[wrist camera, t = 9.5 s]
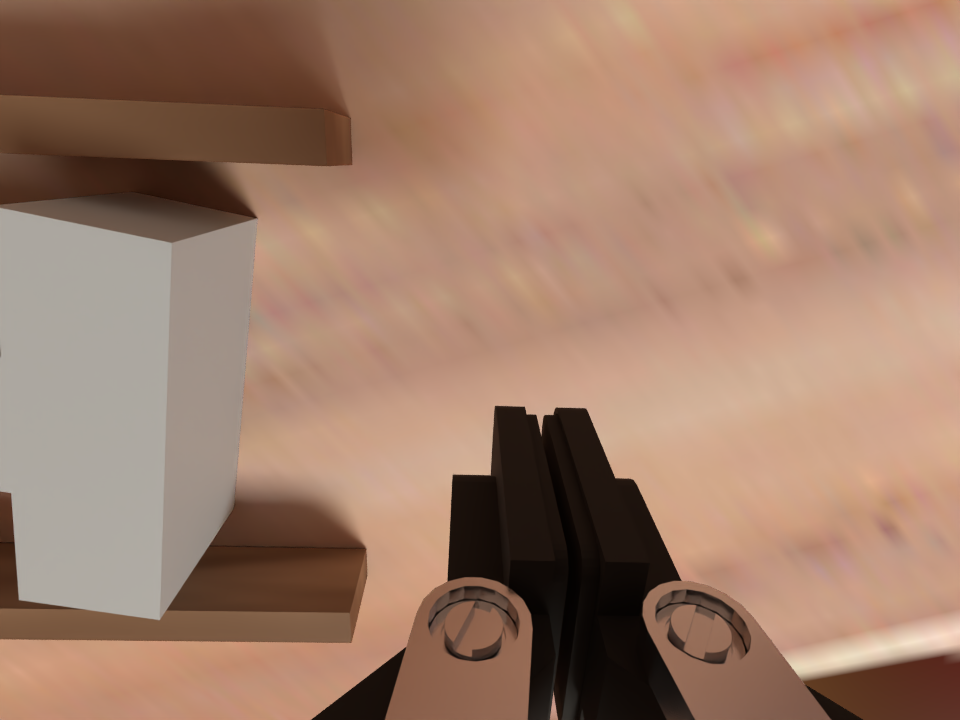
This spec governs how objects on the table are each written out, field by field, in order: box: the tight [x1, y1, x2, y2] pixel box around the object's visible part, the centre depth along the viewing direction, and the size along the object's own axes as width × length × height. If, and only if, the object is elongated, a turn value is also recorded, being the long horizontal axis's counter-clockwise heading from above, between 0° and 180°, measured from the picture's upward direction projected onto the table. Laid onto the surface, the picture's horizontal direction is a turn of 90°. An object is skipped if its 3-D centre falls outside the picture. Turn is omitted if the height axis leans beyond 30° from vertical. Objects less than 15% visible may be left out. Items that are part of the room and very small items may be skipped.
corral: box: [0, 95, 367, 643], centre depth 16 cm, size 15×16×3 cm
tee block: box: [0, 192, 258, 620], centre depth 15 cm, size 10×10×5 cm
